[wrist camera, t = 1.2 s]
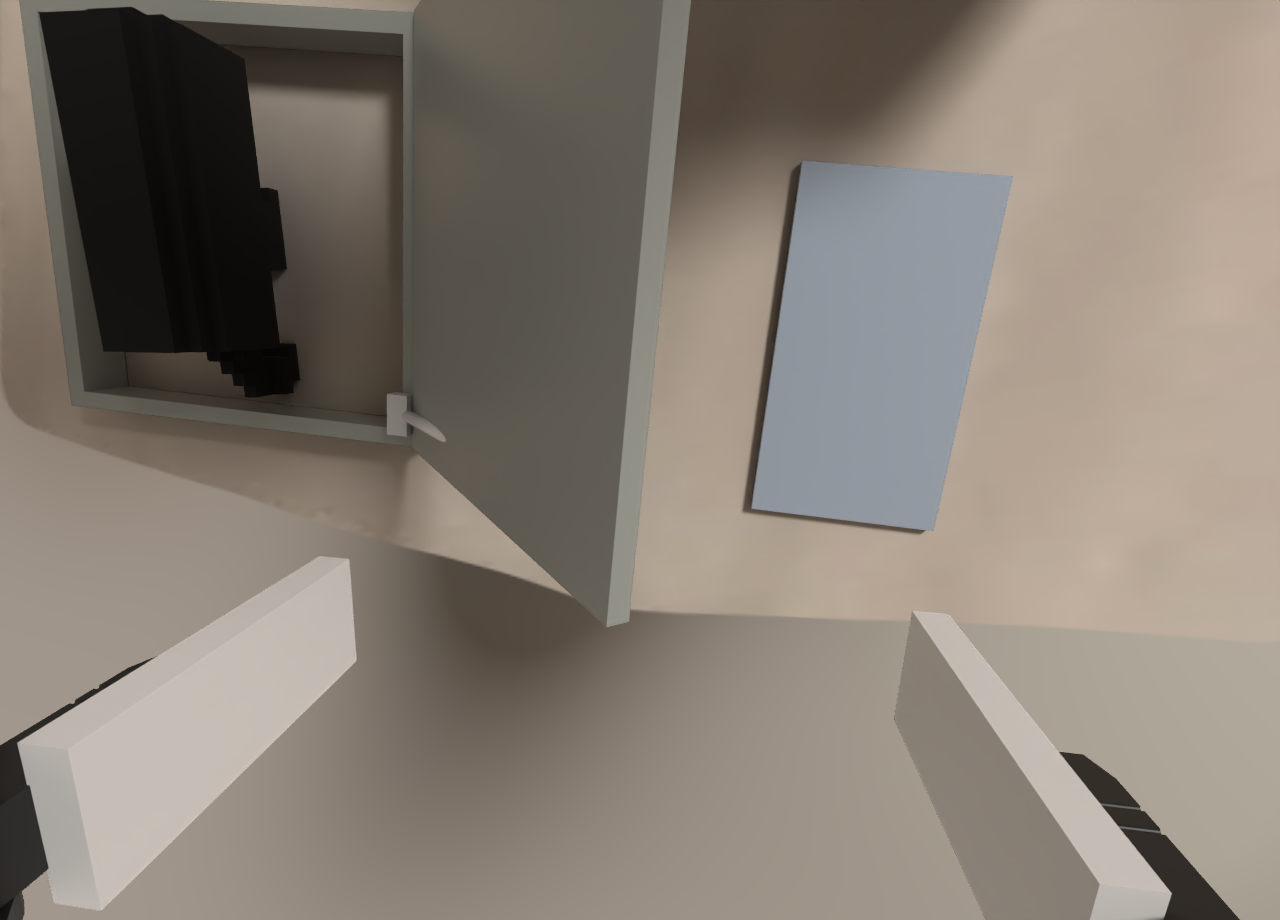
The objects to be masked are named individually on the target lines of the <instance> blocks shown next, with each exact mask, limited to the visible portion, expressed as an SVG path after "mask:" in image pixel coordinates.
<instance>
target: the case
mask: <svg viewBox="0 0 1280 920" xmlns="http://www.w3.org/2000/svg"><path fill="white" fill-rule="evenodd" d="M19 3H20V11H21V18H22V26H23V34H24V42H25V49H26V57H27V65H28V72H29V80H30V88H31V95H32V103H33V111H34V119H35V126H36V134H37V142H38V149H39V157H40V165H41V173H42V180H43V188H44V196H45V203H46V211H47V219H48V226H49V234H50V242H51V250H52V257H53V265H54V273H55V280H56V288H57V296H58V303H59V311H60V319H61V327H62V334H63V342H64V350H65V357H66V365H67V373H68V381H69V388H70V396H71V404H72V406H80V407H88V408H97V409H105V410H113V411H121V412H130V413H138V414H146V415H155V416H163V417H171V418H179V419H188V420H196V421H204V422H212V423H221V424H229V425H237V426H246V427H254V428H262V429H270V430H279V431H287V432H295V433H304V434H312V435H320V436H328V437H337V438H345V439H353V440H362V441H370V442H378V443H386V444H395V445H403V446H411V447H412V448H413V449H414V450H415V451H416V452H417V453H418V454H419V455H420V456H421V457H422V458H423V459H425V460H426V461H427V462H428V463H429V464H430V465H431V466H432V467H433V468H434V469H435V470H436V471H438V472H439V473H440V474H441V475H442V476H443V477H444V478H445V479H446V480H447V481H448V482H450V483H451V484H452V485H453V486H454V487H455V488H456V489H457V490H458V491H459V492H460V493H461V494H463V495H464V496H465V497H466V498H467V499H468V500H469V501H470V502H471V503H472V504H473V505H474V506H476V507H477V508H478V509H479V510H480V511H481V512H482V513H483V514H484V515H485V516H486V517H487V518H489V519H490V520H491V521H492V522H493V523H494V524H495V525H496V526H497V527H498V528H499V529H501V530H502V531H503V532H504V533H505V534H506V535H507V536H508V537H509V538H510V539H511V540H512V541H514V542H515V543H516V544H517V545H518V546H519V547H520V548H521V549H522V550H523V551H524V552H525V553H527V554H528V555H529V556H530V557H531V558H532V559H533V560H534V561H535V562H536V563H537V564H538V565H540V566H541V567H542V568H543V569H544V570H545V571H546V572H547V573H548V574H549V575H550V576H551V577H553V578H554V579H555V580H556V581H557V582H558V583H559V584H560V585H561V586H562V587H563V588H565V589H566V590H567V591H568V592H569V593H570V594H571V595H572V596H573V597H574V598H575V599H576V600H578V601H579V602H580V603H581V604H582V605H583V606H584V607H585V608H586V609H587V610H588V611H589V612H591V613H592V614H593V615H594V616H595V617H596V618H597V619H598V620H599V621H600V622H601V623H602V624H604V625H605V626H606V627H609V626H613V625H617V624H621V623H625V622H628V621H629V615H630V605H631V595H632V585H633V575H634V565H635V555H636V545H637V535H638V525H639V515H640V505H641V495H642V485H643V475H644V465H645V455H646V445H647V435H648V425H649V415H650V405H651V395H652V385H653V375H654V365H655V356H656V346H657V336H658V326H659V316H660V306H661V296H662V286H663V276H664V266H665V256H666V246H667V236H668V226H669V216H670V206H671V196H672V186H673V176H674V166H675V156H676V146H677V136H678V126H679V116H680V106H681V96H682V86H683V76H684V66H685V56H686V46H687V36H688V26H689V16H690V6H691V0H421V2H420V3H419V4H418V6H417V7H416V8H415V10H414V13H413V12H396V11H379V10H362V9H345V8H328V7H311V6H294V5H277V4H260V3H243V2H225V1H208V0H19ZM114 7H133V8H135V9H137V10H139V11H141V12H143V13H145V14H146V15H156V14H163V15H165V16H166V17H168V18H170V19H172V20H173V21H175V22H177V23H179V24H182V25H184V26H186V27H188V28H189V29H191V30H193V31H195V32H197V33H198V34H200V35H202V36H204V37H206V38H207V39H209V40H211V41H213V42H215V43H216V44H223V45H238V46H253V47H269V48H284V49H300V50H315V51H330V52H346V53H361V54H377V55H392V56H403V393H400V392H393V393H389V394H387V417H386V416H377V415H369V414H360V413H352V412H343V411H335V410H326V409H317V408H309V407H300V406H292V405H283V404H275V403H266V402H258V401H249V400H240V399H232V398H223V397H215V396H206V395H198V394H189V393H181V392H172V391H163V390H155V389H146V388H138V387H129V386H128V380H127V370H126V361H125V352H103V346H102V341H101V336H100V331H99V325H98V320H97V315H96V310H95V304H94V299H93V294H92V289H91V283H90V278H89V273H88V268H87V262H86V257H85V252H84V247H83V241H82V236H81V231H80V226H79V220H78V215H77V210H76V205H75V199H74V194H73V189H72V184H71V179H70V173H69V168H68V163H67V158H66V152H65V147H64V142H63V137H62V131H61V126H60V121H59V116H58V110H57V105H56V100H55V95H54V89H53V84H52V79H51V74H50V68H49V63H48V58H47V53H46V47H45V42H44V37H43V32H42V26H41V21H40V16H39V12H56V11H77V10H86V9H93V8H114Z"/></svg>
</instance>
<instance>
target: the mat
mask: <svg viewBox="0 0 1280 920" xmlns="http://www.w3.org/2000/svg"><path fill="white" fill-rule="evenodd" d="M1012 178H1013V176H1000V175H987V174H973V173H960V172H947V171H934V170H921V169H907V168H894V167H881V166H868V165H854V164H841V163H828V162H815V161H802V162H801V166H800V173H799V180H798V187H797V194H796V200H795V207H794V214H793V221H792V228H791V235H790V242H789V248H788V255H787V262H786V269H785V276H784V283H783V290H782V296H781V303H780V310H779V317H778V324H777V331H776V337H775V344H774V351H773V358H772V365H771V372H770V379H769V385H768V392H767V399H766V406H765V413H764V420H763V427H762V433H761V440H760V447H759V454H758V461H757V468H756V475H755V481H754V488H753V495H752V502H751V508H752V509H758V510H766V511H774V512H782V513H790V514H798V515H806V516H815V517H823V518H831V519H839V520H847V521H855V522H863V523H871V524H879V525H887V526H895V527H903V528H912V529H920V530H928V531H934V527H935V522H936V518H937V513H938V509H939V504H940V500H941V495H942V491H943V486H944V482H945V477H946V473H947V468H948V464H949V460H950V455H951V451H952V446H953V442H954V437H955V433H956V428H957V424H958V419H959V415H960V410H961V406H962V401H963V397H964V393H965V388H966V384H967V379H968V375H969V370H970V366H971V361H972V357H973V352H974V348H975V343H976V339H977V334H978V330H979V326H980V321H981V317H982V312H983V308H984V303H985V299H986V294H987V290H988V285H989V281H990V276H991V272H992V267H993V263H994V259H995V254H996V250H997V245H998V241H999V236H1000V232H1001V227H1002V223H1003V218H1004V214H1005V209H1006V205H1007V200H1008V196H1009V192H1010V187H1011V183H1012Z"/></svg>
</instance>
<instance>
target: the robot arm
mask: <svg viewBox="0 0 1280 920" xmlns="http://www.w3.org/2000/svg"><path fill="white" fill-rule="evenodd" d="M356 660H357V659H356V646H355V631H354V618H353V604H352V591H351V576H350V562H349V559H345V558H334V557H323V556H319V557H317V558H316V559H314V560H312V561H311V562H309V563H308V564H306V565H304V566H303V567H301V568H299V569H298V570H296V571H295V572H293V573H292V574H290V575H288V576H287V577H285V578H283V579H282V580H280V581H279V582H277V583H275V584H274V585H272V586H270V587H269V588H267V589H266V590H264V591H262V592H261V593H259V594H257V595H256V596H254V597H253V598H251V599H249V600H248V601H246V602H244V603H243V604H241V605H240V606H238V607H236V608H235V609H233V610H232V611H230V612H228V613H227V614H225V615H223V616H222V617H220V618H219V619H217V620H215V621H214V622H212V623H211V624H209V625H207V626H206V627H204V628H202V629H201V630H199V631H197V632H196V633H194V634H193V635H191V636H189V637H188V638H186V639H185V640H183V641H181V642H180V643H178V644H176V645H175V646H173V647H172V648H170V649H168V650H167V651H165V652H164V653H162V654H160V655H159V656H156V657H154V658H151V659H149V660H146V661H144V662H142V663H139V664H137V665H134V666H132V667H129V668H127V669H126V670H124V671H122V672H121V673H119V674H117V675H116V676H114V677H113V678H111V679H109V680H108V681H106V682H104V683H103V684H101V685H100V686H99V688H98V689H93V690H91V691H89V692H88V693H86V694H84V695H83V696H81V697H79V698H78V699H76V700H75V703H74V704H68V705H66V706H65V707H63V708H61V709H60V710H58V711H56V712H55V713H53V714H51V715H50V716H48V717H46V718H45V719H43V720H41V721H40V722H38V723H37V724H35V725H33V726H32V727H30V728H29V729H27V730H25V731H23V732H22V733H20V734H18V735H17V736H15V737H14V738H12V739H10V740H9V741H7V742H5V743H4V744H2V745H0V920H22V919H23V916H24V899H23V895H22V890H24V889H25V888H26V887H27V886H28V885H30V883H32V882H33V881H34V880H36V879H37V878H38V877H39V876H40V875H42V874H43V873H44V872H45V871H46V870H47V874H48V879H49V883H50V887H51V891H52V896H53V900H54V903H56V904H62V905H68V906H75V907H81V908H87V909H93V910H100V911H101V910H102V909H103V908H105V907H106V906H107V905H108V904H109V903H110V902H111V901H112V900H113V899H114V898H115V897H116V896H117V895H118V894H119V893H120V892H121V891H122V890H123V889H124V888H125V887H126V886H127V885H128V884H129V883H130V882H131V881H132V880H133V879H134V878H135V877H136V876H137V875H138V874H139V873H140V872H141V871H142V870H143V869H144V868H145V867H146V866H147V865H148V864H149V863H150V862H151V861H153V860H154V859H155V858H156V857H157V856H158V855H159V854H160V853H161V852H162V851H163V850H164V849H165V848H166V847H167V846H168V845H169V844H170V843H171V842H172V841H173V840H174V839H175V838H176V837H177V836H178V835H179V834H180V833H181V832H182V831H183V830H184V829H185V828H186V827H187V826H188V825H189V824H190V823H191V822H192V821H193V820H194V819H195V818H196V817H197V816H198V815H200V813H201V812H202V811H204V809H206V808H207V807H208V806H209V805H210V804H211V803H212V802H213V801H214V800H215V799H216V798H217V797H218V796H219V795H220V794H221V793H222V792H223V791H224V790H225V789H226V788H227V787H228V786H229V785H230V784H231V783H232V782H233V781H234V780H235V779H236V778H237V777H238V776H239V775H240V774H241V773H242V772H243V771H244V770H245V769H246V768H248V767H249V765H251V764H252V763H253V762H254V761H255V760H256V759H257V758H258V757H259V756H260V755H261V754H262V753H263V752H264V751H265V750H266V749H267V748H268V747H269V746H270V745H271V744H272V743H273V742H274V741H275V740H276V739H277V738H278V737H279V736H280V735H281V734H282V733H283V732H284V731H285V730H286V729H287V728H288V727H289V726H290V725H291V724H292V723H293V722H294V721H296V720H297V718H298V717H300V716H301V715H302V714H303V713H304V712H305V711H306V710H307V709H308V708H309V707H310V706H311V705H312V704H313V703H314V702H315V701H316V700H317V699H318V698H319V697H320V696H321V695H322V694H323V693H324V692H325V691H326V690H327V689H328V688H329V687H330V686H331V685H332V684H333V683H334V682H335V681H336V680H337V679H338V678H339V677H340V676H341V675H342V674H343V673H344V672H345V671H346V670H348V669H349V668H350V666H352V665H353V664H354V663H355V662H356ZM894 720H895V723H896V725H897V727H898V729H899V731H900V734H901V736H902V738H903V740H904V742H905V745H906V747H907V749H908V751H909V753H910V755H911V757H912V760H913V762H914V764H915V766H916V769H917V771H918V773H919V775H920V777H921V780H922V782H923V784H924V786H925V788H926V790H927V793H928V795H929V797H930V799H931V802H932V804H933V806H934V808H935V810H936V812H937V815H938V817H939V819H940V821H941V823H942V826H943V828H944V830H945V832H946V834H947V837H948V839H949V841H950V843H951V845H952V848H953V850H954V852H955V854H956V856H957V858H958V861H959V863H960V865H961V867H962V869H963V872H964V874H965V876H966V878H967V880H968V883H969V885H970V887H971V889H972V891H973V893H974V896H975V898H976V900H977V902H978V904H979V906H980V909H981V911H982V913H983V915H984V918H985V919H986V920H1240V919H1238V917H1237V916H1236V915H1235V914H1234V913H1233V912H1232V910H1231V909H1230V908H1229V907H1228V906H1227V905H1226V903H1225V902H1224V901H1223V900H1222V899H1221V898H1220V897H1219V896H1218V894H1217V893H1216V892H1215V891H1214V890H1213V889H1212V888H1211V887H1210V885H1209V884H1208V883H1207V882H1206V881H1205V880H1204V878H1203V877H1202V876H1201V875H1200V874H1199V873H1198V872H1197V871H1196V869H1195V868H1194V867H1193V866H1192V865H1191V864H1190V862H1189V861H1188V860H1187V859H1186V858H1185V857H1184V856H1183V854H1182V853H1181V852H1180V851H1179V850H1178V849H1177V848H1176V847H1175V845H1174V844H1173V843H1172V842H1171V841H1170V840H1169V839H1168V837H1167V836H1166V835H1161V832H1160V828H1159V827H1158V826H1157V825H1156V824H1155V823H1154V821H1153V820H1152V819H1151V818H1150V817H1149V816H1148V815H1147V813H1146V812H1144V811H1141V810H1140V806H1139V804H1138V803H1137V802H1136V801H1135V800H1134V799H1133V798H1132V796H1131V795H1130V794H1129V793H1128V792H1127V791H1126V790H1125V788H1124V787H1123V786H1122V785H1121V784H1120V783H1119V782H1118V780H1117V779H1116V778H1114V777H1113V776H1111V775H1110V774H1109V773H1107V772H1106V771H1105V770H1103V769H1102V768H1101V767H1099V766H1098V765H1096V764H1095V763H1094V762H1092V761H1091V760H1090V759H1088V758H1087V757H1086V756H1084V755H1082V754H1073V753H1064V752H1058V751H1057V749H1056V748H1055V747H1054V746H1053V744H1052V743H1051V742H1050V741H1049V739H1048V738H1047V737H1046V736H1045V734H1044V733H1043V732H1042V731H1041V729H1040V728H1039V727H1038V726H1037V724H1036V723H1035V722H1034V721H1033V719H1032V718H1031V717H1030V716H1029V714H1028V713H1027V712H1026V711H1025V709H1024V708H1023V707H1022V706H1021V704H1020V703H1019V702H1018V701H1017V699H1016V698H1015V697H1014V696H1013V694H1012V693H1011V692H1010V691H1009V689H1008V688H1007V687H1006V686H1005V685H1004V683H1003V682H1002V681H1001V679H1000V678H999V677H998V676H997V674H996V673H995V672H994V671H993V669H992V668H991V667H990V666H989V664H988V663H987V662H986V661H985V659H984V658H983V657H982V656H981V654H980V653H979V652H978V651H977V649H976V648H975V647H974V646H973V645H972V643H971V642H970V641H969V639H968V638H967V637H966V636H965V634H964V633H963V632H962V631H961V629H960V628H959V627H958V626H957V624H956V623H955V622H954V621H953V619H952V618H951V617H950V616H949V614H942V613H931V612H920V611H912V615H911V621H910V627H909V633H908V639H907V645H906V651H905V657H904V662H903V668H902V674H901V681H900V686H899V692H898V698H897V704H896V710H895V716H894Z"/></svg>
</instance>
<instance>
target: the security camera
mask: <svg viewBox="0 0 1280 920" xmlns="http://www.w3.org/2000/svg"><path fill="white" fill-rule="evenodd" d="M39 16H40V21H41V26H42V32H43V37H44V42H45V47H46V53H47V58H48V63H49V68H50V74H51V79H52V84H53V89H54V95H55V100H56V105H57V110H58V116H59V121H60V126H61V131H62V137H63V142H64V147H65V152H66V158H67V163H68V168H69V173H70V179H71V184H72V189H73V194H74V199H75V205H76V210H77V215H78V220H79V226H80V231H81V236H82V241H83V247H84V252H85V257H86V262H87V268H88V273H89V278H90V283H91V289H92V294H93V299H94V304H95V310H96V315H97V320H98V325H99V331H100V336H101V341H102V346H103V352H154V353H181V352H207V358H208V360H209V361H213V362H220V364H221V371H222V374H232V376H233V383H234V386H244V392H245V397H261V396H267V395H272V394H291V393H294V391H293V383H292V381H296V380H300V375H299V367H298V358H297V350H296V344H280V342H279V334H278V326H277V318H276V310H275V302H274V294H273V286H272V277H271V269H287V265H286V257H285V249H284V240H283V232H282V223H281V215H280V206H279V198H278V191H277V190H274V189H270V188H260V181H259V173H258V165H257V157H256V149H255V141H254V133H253V125H252V117H251V109H250V101H249V93H248V85H247V77H246V69H245V61H244V59H243V58H241V57H240V56H238V55H236V54H234V53H232V52H231V51H229V50H227V49H225V48H223V47H222V46H220V45H218V44H216V43H215V42H213V41H211V40H209V39H207V38H206V37H204V36H202V35H200V34H198V33H197V32H195V31H193V30H191V29H189V28H188V27H186V26H184V25H182V24H179V23H177V22H175V21H173V20H172V19H170V18H168V17H166V16H165V15H163V14H156V15H146V14H145V13H143V12H141V11H139V10H137V9H135V8H133V7H114V8H93V9H86V10H77V11H56V12H39Z"/></svg>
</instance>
